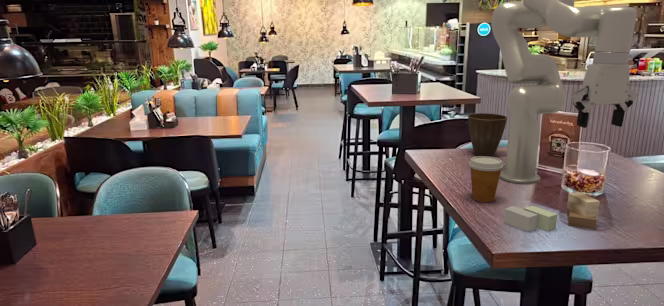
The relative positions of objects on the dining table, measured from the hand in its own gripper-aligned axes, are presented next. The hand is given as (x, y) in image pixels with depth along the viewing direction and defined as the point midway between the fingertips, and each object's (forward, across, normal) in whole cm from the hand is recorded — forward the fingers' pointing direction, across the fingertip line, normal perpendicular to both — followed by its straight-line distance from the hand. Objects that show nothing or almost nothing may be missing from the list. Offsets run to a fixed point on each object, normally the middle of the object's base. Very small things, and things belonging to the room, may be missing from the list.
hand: (599, 126), depth 116 cm
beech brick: (+21, +5, +6) cm, 23 cm away
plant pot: (+27, 0, -62) cm, 67 cm away
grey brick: (+24, +22, +7) cm, 34 cm away
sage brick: (+24, +17, +7) cm, 31 cm away
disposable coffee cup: (+25, +23, -13) cm, 37 cm away
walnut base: (+24, +5, +6) cm, 26 cm away
